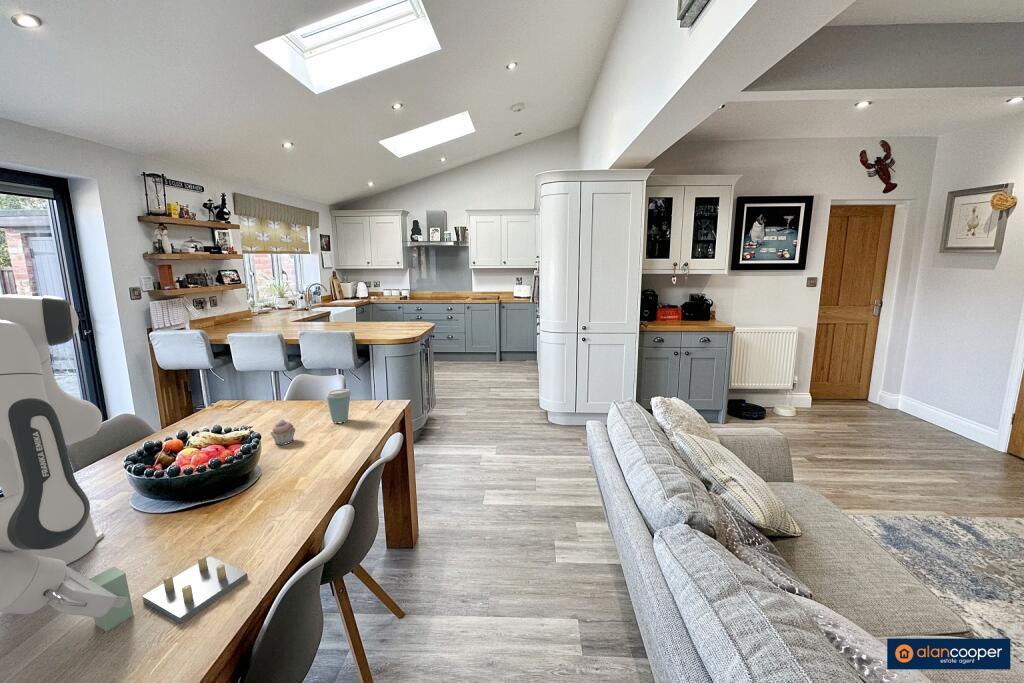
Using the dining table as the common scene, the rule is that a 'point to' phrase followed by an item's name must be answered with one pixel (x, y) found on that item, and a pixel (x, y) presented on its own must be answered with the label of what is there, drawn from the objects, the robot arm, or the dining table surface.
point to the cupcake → (283, 432)
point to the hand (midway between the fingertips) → (111, 594)
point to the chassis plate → (194, 588)
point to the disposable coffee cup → (338, 404)
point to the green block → (117, 585)
